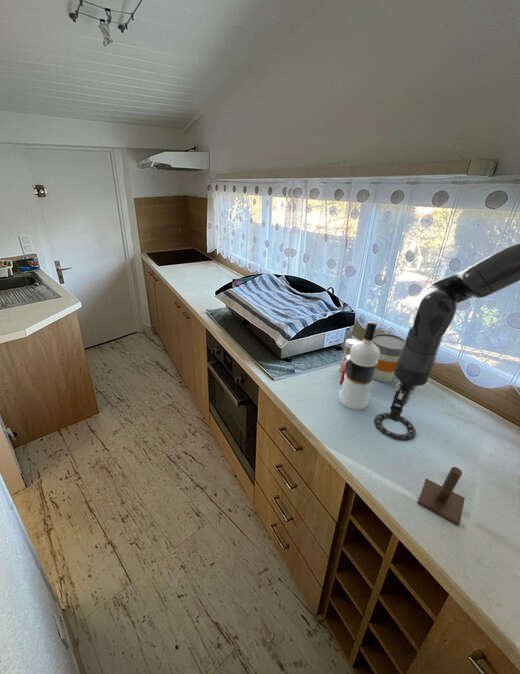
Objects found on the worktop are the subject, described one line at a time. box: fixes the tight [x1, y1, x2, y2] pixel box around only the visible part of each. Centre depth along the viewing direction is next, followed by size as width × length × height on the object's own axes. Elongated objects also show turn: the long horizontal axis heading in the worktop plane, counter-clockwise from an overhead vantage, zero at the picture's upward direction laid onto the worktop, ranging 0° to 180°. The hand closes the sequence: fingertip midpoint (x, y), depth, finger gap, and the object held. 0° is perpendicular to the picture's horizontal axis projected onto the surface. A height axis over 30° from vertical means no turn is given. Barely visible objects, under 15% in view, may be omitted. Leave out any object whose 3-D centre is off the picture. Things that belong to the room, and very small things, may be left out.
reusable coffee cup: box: [372, 332, 406, 382], centre depth 114 cm, size 13×13×15 cm
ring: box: [373, 412, 417, 442], centre depth 92 cm, size 11×11×2 cm
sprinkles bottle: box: [339, 338, 359, 373], centre depth 117 cm, size 5×5×14 cm
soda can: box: [339, 355, 349, 387], centre depth 109 cm, size 5×5×12 cm
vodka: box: [338, 321, 380, 410], centre depth 97 cm, size 9×9×30 cm
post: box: [417, 466, 466, 527], centre depth 70 cm, size 8×8×11 cm
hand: (397, 411), depth 85 cm, fingers open, 8 cm apart
